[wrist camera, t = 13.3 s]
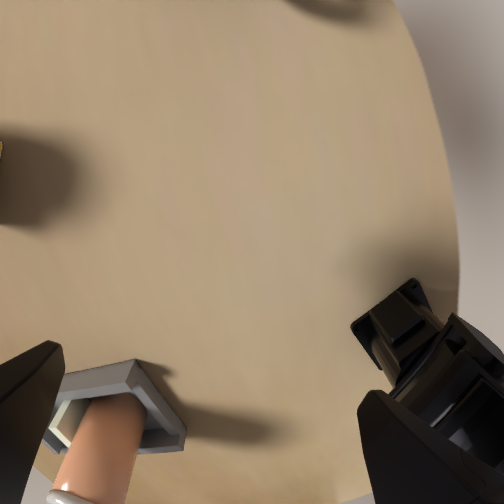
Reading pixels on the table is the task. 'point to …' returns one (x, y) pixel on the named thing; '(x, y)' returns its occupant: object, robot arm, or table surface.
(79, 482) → the dome-lidded peach canister
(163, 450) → the tray
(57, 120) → the table surface
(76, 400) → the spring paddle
